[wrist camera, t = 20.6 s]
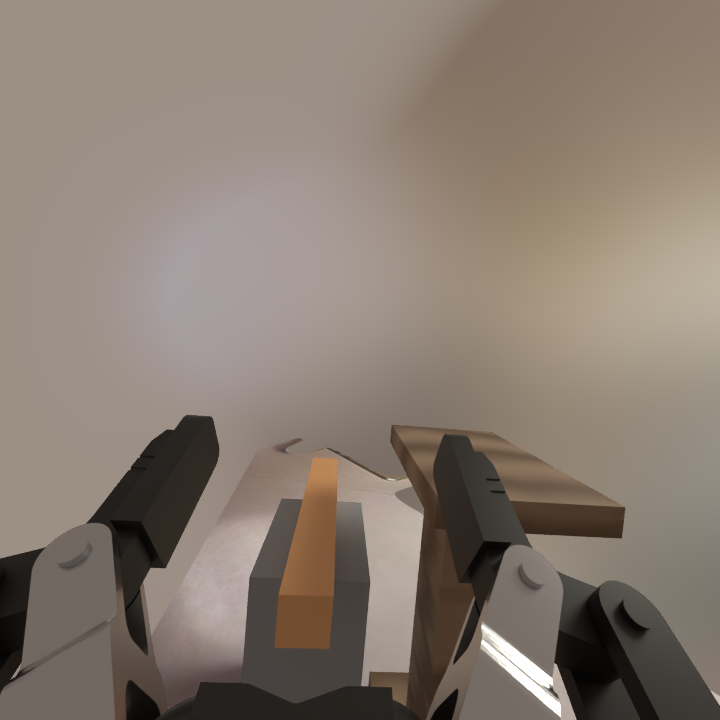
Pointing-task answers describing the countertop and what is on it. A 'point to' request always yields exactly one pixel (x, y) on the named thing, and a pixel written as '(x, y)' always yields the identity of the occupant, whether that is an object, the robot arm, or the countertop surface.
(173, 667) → the countertop surface
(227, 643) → the countertop surface
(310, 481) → the orange bar
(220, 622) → the countertop surface
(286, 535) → the grey riser
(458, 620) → the stand
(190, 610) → the countertop surface
